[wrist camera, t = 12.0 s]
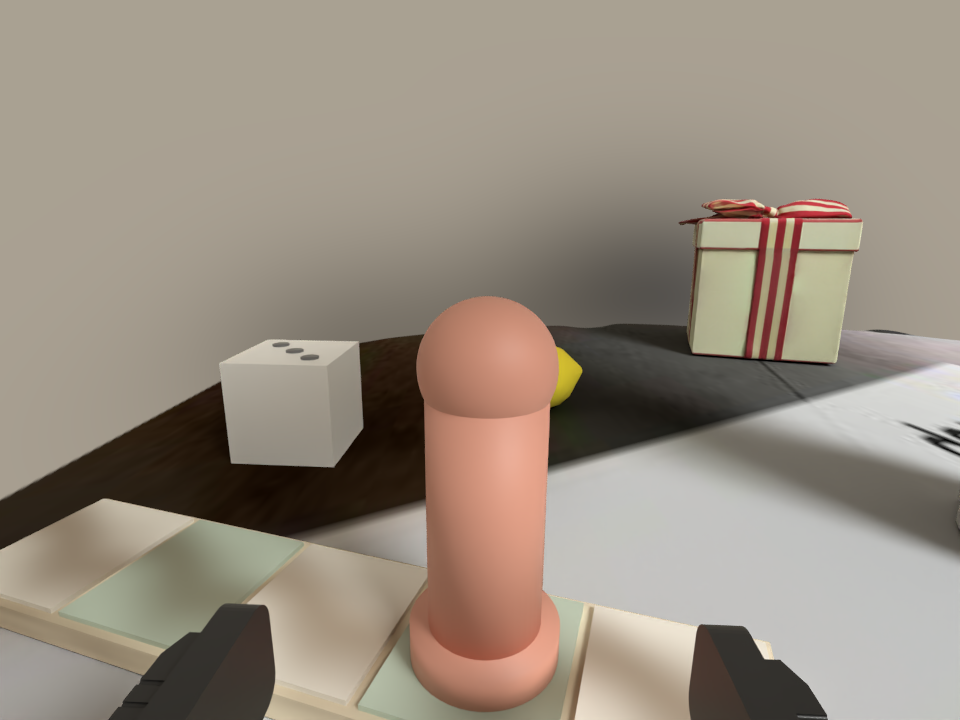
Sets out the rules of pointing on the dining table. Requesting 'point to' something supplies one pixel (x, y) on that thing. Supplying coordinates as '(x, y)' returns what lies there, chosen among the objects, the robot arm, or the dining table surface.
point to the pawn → (486, 507)
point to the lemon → (565, 377)
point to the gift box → (771, 279)
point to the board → (310, 619)
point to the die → (292, 402)
